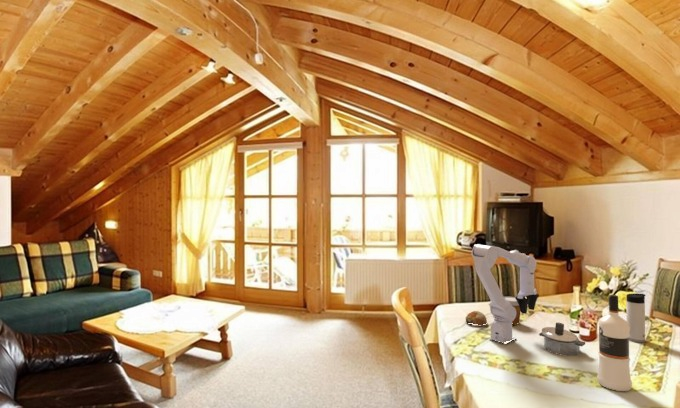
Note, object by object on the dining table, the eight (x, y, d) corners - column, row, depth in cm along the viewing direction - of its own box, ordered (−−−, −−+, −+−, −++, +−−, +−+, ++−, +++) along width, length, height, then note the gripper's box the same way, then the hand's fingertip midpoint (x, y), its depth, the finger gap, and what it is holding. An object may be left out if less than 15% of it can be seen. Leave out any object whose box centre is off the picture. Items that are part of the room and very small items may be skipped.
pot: (578, 359, 144) (577, 346, 144) (534, 347, 156) (534, 335, 156) (589, 351, 151) (589, 338, 151) (547, 340, 164) (547, 328, 164)
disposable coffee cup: (520, 327, 180) (520, 302, 180) (499, 323, 186) (499, 299, 186) (524, 322, 188) (524, 298, 188) (504, 318, 194) (504, 295, 193)
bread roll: (486, 334, 182) (493, 319, 182) (467, 325, 182) (474, 310, 182) (479, 327, 192) (486, 313, 192) (461, 319, 192) (467, 304, 192)
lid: (565, 346, 146) (567, 332, 145) (535, 334, 157) (536, 321, 156) (583, 340, 152) (584, 326, 152) (552, 328, 163) (553, 316, 163)
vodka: (635, 395, 118) (635, 300, 117) (600, 389, 122) (599, 297, 121) (627, 381, 126) (626, 293, 126) (594, 376, 130) (593, 290, 130)
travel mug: (649, 343, 158) (649, 296, 158) (631, 342, 160) (631, 295, 159) (640, 337, 164) (640, 292, 164) (623, 337, 166) (623, 291, 165)
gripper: (528, 285, 163) (529, 316, 164) (543, 280, 173) (543, 309, 173) (512, 283, 169) (513, 313, 169) (527, 278, 178) (528, 306, 178)
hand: (527, 311), depth 171 cm, fingers open, 7 cm apart
